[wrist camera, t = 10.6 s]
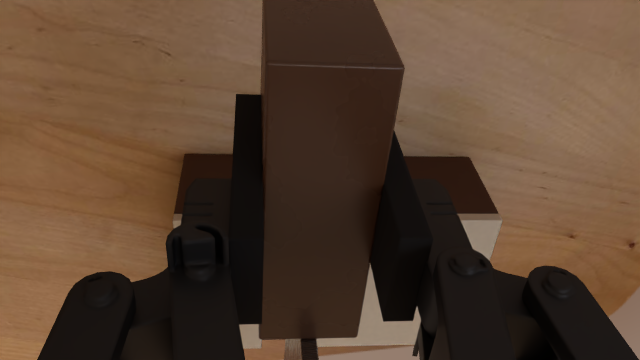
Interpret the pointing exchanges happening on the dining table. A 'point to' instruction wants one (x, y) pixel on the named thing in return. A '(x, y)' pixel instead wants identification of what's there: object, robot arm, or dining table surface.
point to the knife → (322, 163)
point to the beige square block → (478, 226)
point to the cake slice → (191, 169)
